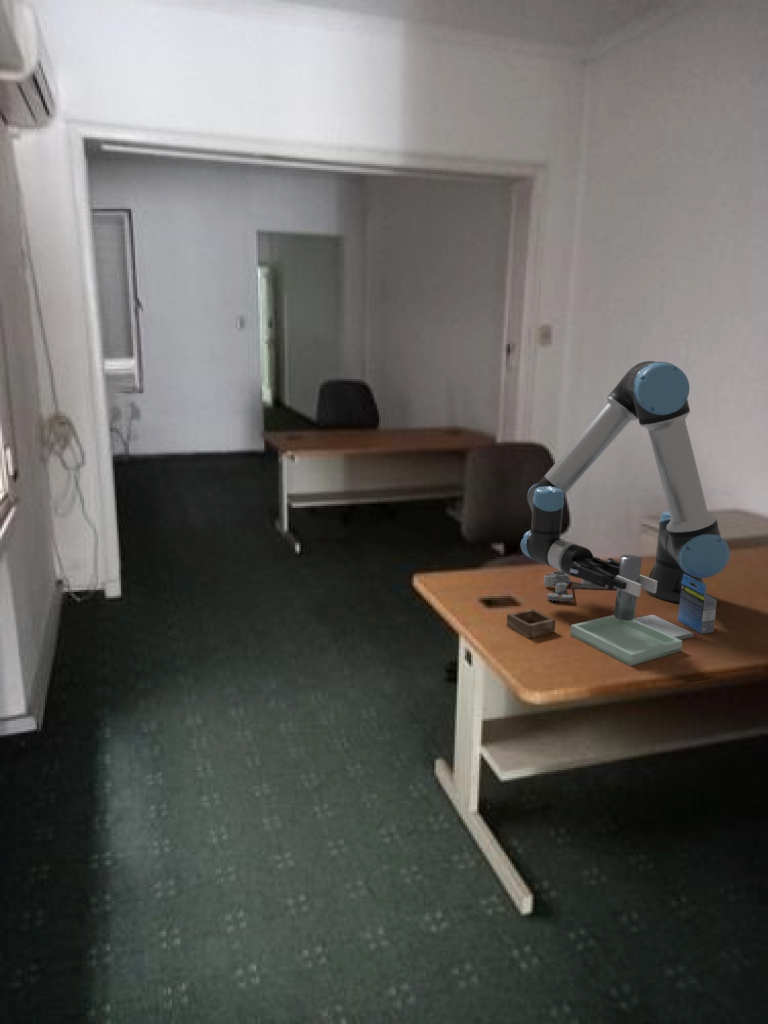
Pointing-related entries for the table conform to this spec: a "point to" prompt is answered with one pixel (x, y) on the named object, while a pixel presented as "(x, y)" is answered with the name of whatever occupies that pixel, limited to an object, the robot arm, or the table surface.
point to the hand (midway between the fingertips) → (647, 588)
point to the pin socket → (537, 628)
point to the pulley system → (565, 585)
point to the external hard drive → (665, 626)
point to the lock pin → (625, 600)
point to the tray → (626, 639)
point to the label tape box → (696, 606)
